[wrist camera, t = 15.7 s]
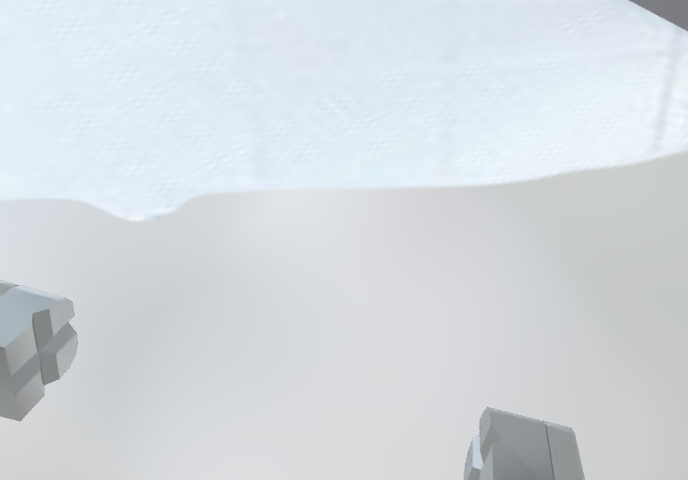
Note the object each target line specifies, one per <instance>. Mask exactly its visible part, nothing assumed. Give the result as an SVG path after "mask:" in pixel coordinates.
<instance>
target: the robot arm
mask: <svg viewBox="0 0 688 480" xmlns="http://www.w3.org/2000/svg"><path fill="white" fill-rule="evenodd" d="M73 316H74V309H73V303H72V301H70V300H68V299H66V298H64V297H60V296H57V295H54V294H50V293H47V292H43V291H39V290H36V289H32V288H29V287H26V286H22V285H16V284H13V283H10V282H6V281H2V280H0V416H1V417H5V418H9V419H14V420H17V421H21V420H22V419H23V418H24V416H25V415H27V413H28V412H29V411H30V410H31V409H32V408H33V407H34V406H35V405H36V404H37V403H38V402H39V401H40V400H41V398H42V397H43V396H44V385H46V384H48V383H51V382H53V381H56V380H58V379H60V378H61V376H63V374H64V373H65V372H66V371H67V370H68V369H69V367H70V365H71V363H72V361H73V359H74V357H75V355H76V350H77V344H78V341H77V333H76V331H75V330H74V329H73V328H72V327H71V325H70V324H69V321H70V320H71V319H72V318H73ZM464 480H585V478H584V473H583V468H582V464H581V459H580V455H579V450H578V446H577V441H576V436H575V432H574V431H573V430H572V428H570V427H566V426H562V425H558V424H554V423H550V422H546V421H540V420H536V419H533V418H529V417H525V416H521V415H517V414H513V413H509V412H505V411H501V410H497V409H493V408H489V407H487V408H486V409H485V411H484V412H483V414H482V417H481V419H480V435H478V436H476V437H474V438H473V439H472V442H471V445H470V447H469V450H468V454H467V458H466V463H465V469H464Z"/></svg>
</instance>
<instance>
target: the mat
mask: <svg viewBox="0 0 688 480" xmlns="http://www.w3.org/2000/svg"><path fill="white" fill-rule="evenodd" d="M630 1H632V2H634V3H636V4H638V5H639V6H641V7H643V8H645V9H647V10H649V11H651V12H653V13H655V14H656V15H658V16H660V17H662V18H664V19H666V20H668V21H670V22H672V23H673V24H675V25H677V26H679V27H681V28H683V29H685V30H687V31H688V0H630Z"/></svg>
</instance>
